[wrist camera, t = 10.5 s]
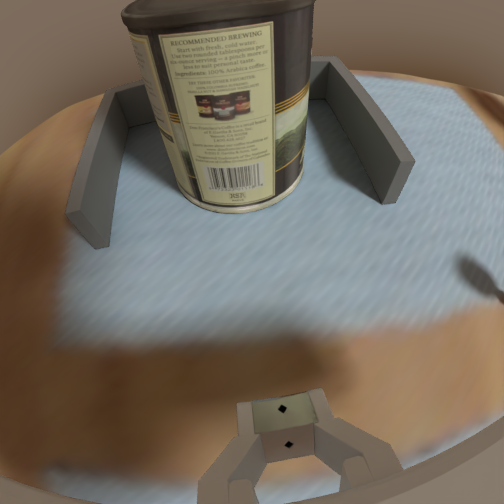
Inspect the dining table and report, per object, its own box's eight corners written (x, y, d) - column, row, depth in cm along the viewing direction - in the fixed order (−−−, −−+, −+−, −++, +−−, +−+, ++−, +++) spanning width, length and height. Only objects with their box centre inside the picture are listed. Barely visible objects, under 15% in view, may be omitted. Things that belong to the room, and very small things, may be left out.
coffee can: (263, 111, 27) (256, -30, 14) (330, 181, 22) (360, -4, 10) (159, 151, 25) (111, 3, 12) (202, 238, 20) (136, 30, 8)
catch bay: (95, 249, 20) (64, 214, 16) (120, 123, 28) (106, 89, 24) (395, 203, 21) (415, 161, 17) (332, 92, 28) (336, 56, 24)
